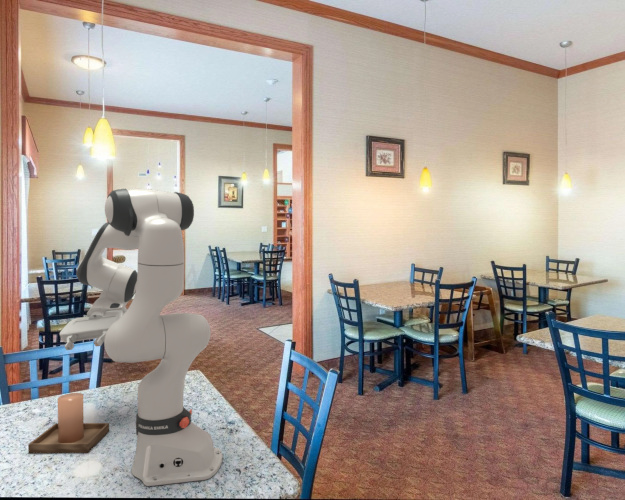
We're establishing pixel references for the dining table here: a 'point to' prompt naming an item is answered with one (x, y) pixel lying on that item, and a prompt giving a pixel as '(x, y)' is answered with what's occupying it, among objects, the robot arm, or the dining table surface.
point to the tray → (85, 445)
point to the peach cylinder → (70, 418)
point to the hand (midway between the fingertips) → (82, 346)
